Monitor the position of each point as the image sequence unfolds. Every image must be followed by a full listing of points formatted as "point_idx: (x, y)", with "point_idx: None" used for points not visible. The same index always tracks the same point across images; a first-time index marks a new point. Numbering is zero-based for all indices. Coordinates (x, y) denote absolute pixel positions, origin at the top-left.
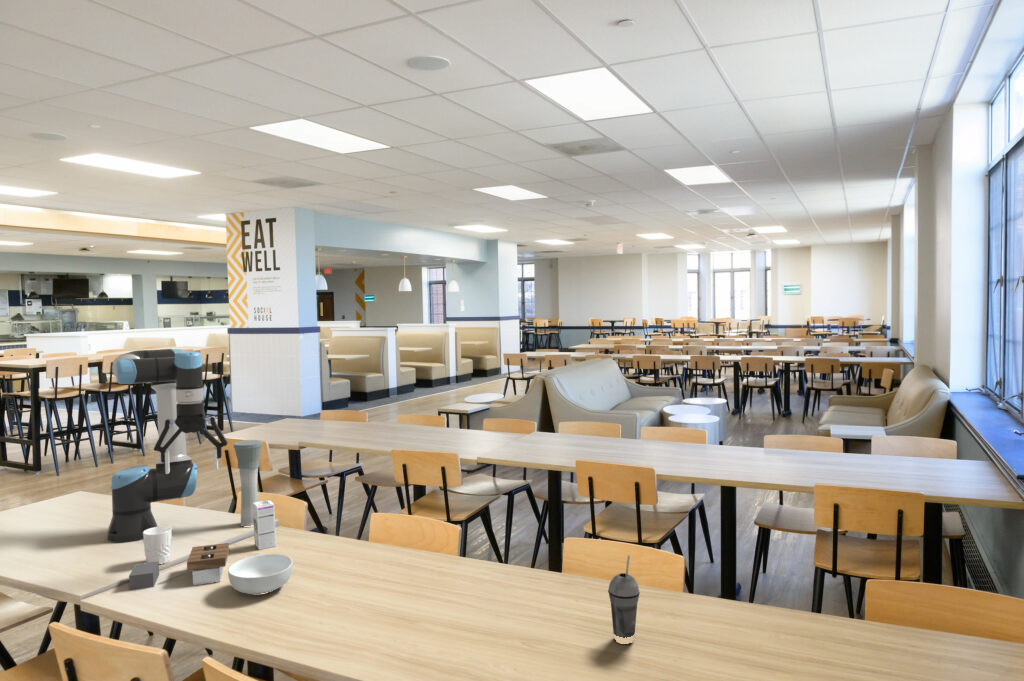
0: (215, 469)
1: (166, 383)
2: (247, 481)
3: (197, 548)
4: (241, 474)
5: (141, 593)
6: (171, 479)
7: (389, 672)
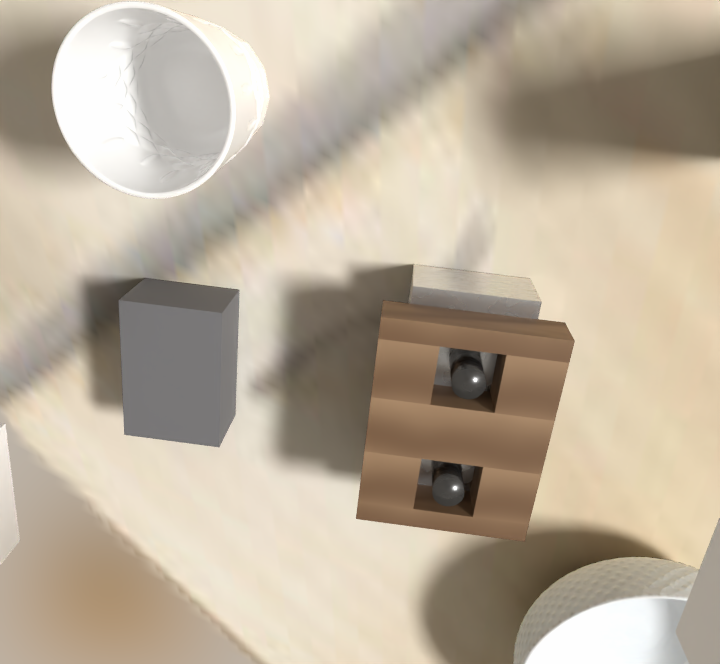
0: (689, 641)
1: None
2: None
3: (405, 352)
4: None
5: (200, 456)
6: None
7: None
